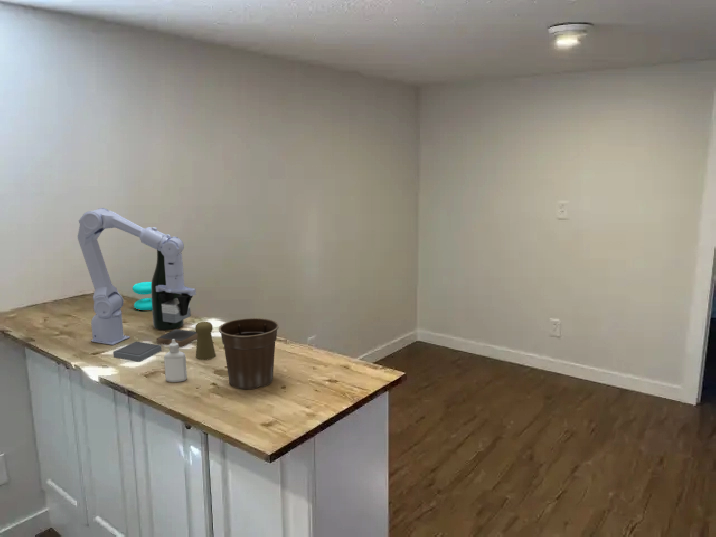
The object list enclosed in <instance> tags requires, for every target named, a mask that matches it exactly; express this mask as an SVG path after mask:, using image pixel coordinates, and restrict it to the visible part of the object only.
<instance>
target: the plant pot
mask: <svg viewBox="0 0 716 537" xmlns="http://www.w3.org/2000/svg"><path fill="white" fill-rule="evenodd" d="M279 326H280V324H279V323H278V322H277V321H276V320H272V319H268V318H264V317H263V318H261V317H250V318H246V317H245V318H239V319H238V318H237V319H234V320H230V321H227V322H224V323H223V324H221V325H220V326H219V327H218V331H219V334H220V336H221V342H222V345H223V347H224V348H223V349H224V355H225V362H226V369H227V376H228V383H229V384H230V385H231V386H232V387H233V388H235V389H241V390H253V389H258V387H262V388H264V387H266V386H268V385H270V384H271V383H272V382H273V380H274V369H275V366H274V365H275V354H276V353H275V352H276V351H275V350H276V342H277V338H278V336H277V335H278V330H279Z"/></svg>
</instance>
